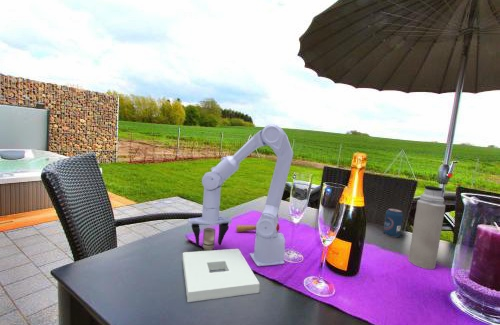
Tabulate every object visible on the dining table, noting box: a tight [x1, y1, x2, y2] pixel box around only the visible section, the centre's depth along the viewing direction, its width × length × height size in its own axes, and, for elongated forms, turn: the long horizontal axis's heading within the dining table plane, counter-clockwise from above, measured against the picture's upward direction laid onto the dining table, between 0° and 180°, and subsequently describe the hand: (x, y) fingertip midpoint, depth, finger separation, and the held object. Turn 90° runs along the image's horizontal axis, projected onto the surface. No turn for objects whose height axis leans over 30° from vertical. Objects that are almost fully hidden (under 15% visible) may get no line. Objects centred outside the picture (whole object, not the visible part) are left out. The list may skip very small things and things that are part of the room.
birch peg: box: [202, 227, 216, 251], centre depth 85 cm, size 4×4×7 cm
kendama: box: [236, 220, 280, 233], centre depth 104 cm, size 8×6×18 cm
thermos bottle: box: [408, 185, 446, 270], centre depth 87 cm, size 8×8×28 cm
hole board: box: [182, 248, 261, 303], centre depth 70 cm, size 18×20×2 cm
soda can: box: [383, 207, 404, 238], centre depth 114 cm, size 7×7×12 cm
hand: (208, 244), depth 85 cm, fingers open, 7 cm apart
